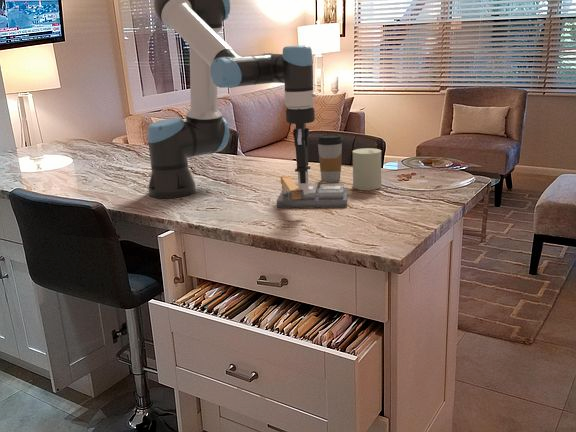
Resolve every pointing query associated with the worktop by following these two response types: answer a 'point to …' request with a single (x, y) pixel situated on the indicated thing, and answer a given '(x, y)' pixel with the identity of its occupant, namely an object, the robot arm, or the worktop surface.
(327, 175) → the coffee cup
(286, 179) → the bar
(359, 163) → the can
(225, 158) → the worktop surface
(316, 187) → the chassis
